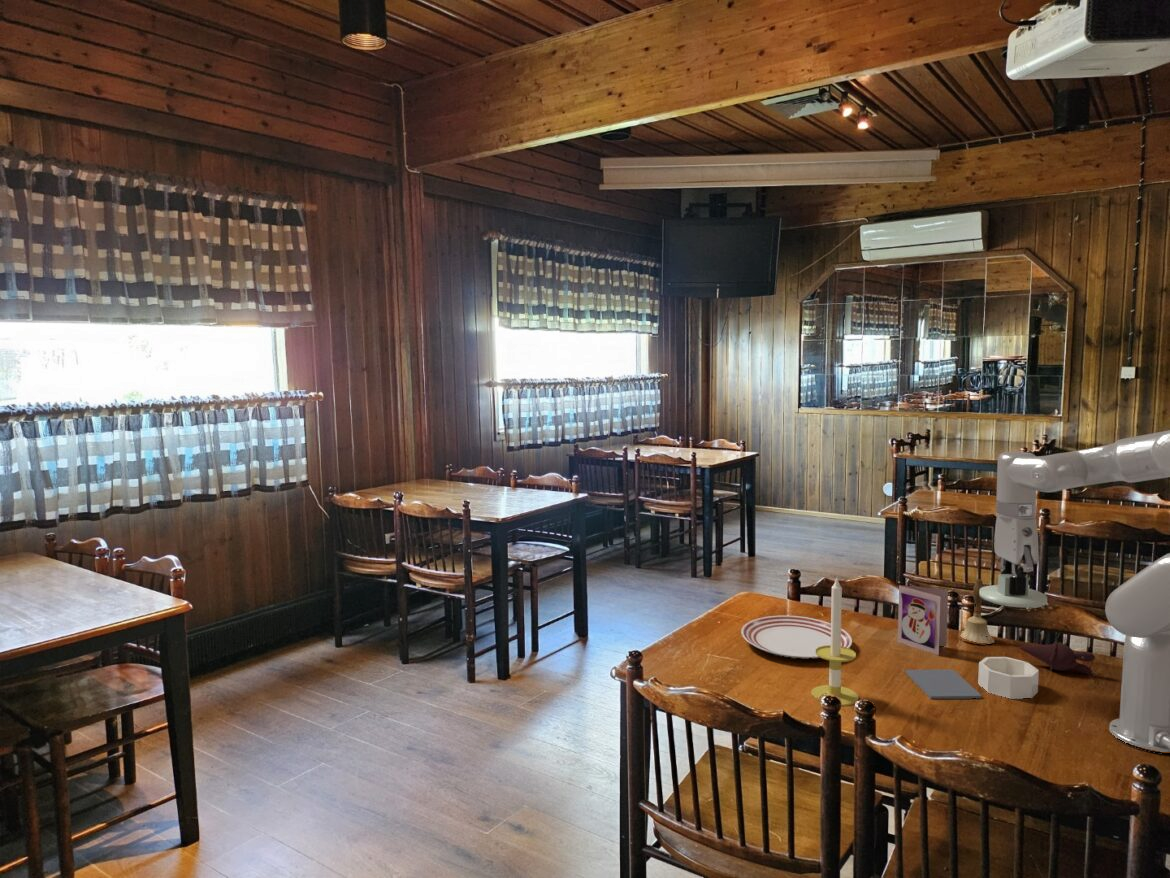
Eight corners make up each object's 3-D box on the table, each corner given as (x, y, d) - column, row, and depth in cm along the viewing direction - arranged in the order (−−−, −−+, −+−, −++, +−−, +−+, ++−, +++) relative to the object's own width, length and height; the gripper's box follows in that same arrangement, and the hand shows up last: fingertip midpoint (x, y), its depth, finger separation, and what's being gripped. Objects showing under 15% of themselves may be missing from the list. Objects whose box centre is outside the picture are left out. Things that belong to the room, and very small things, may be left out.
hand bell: (963, 631, 208) (965, 573, 206) (997, 638, 203) (1000, 578, 201) (954, 641, 202) (956, 580, 200) (990, 648, 197) (992, 586, 195)
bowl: (1045, 698, 168) (1047, 676, 168) (995, 699, 168) (996, 676, 168) (1019, 677, 179) (1019, 656, 178) (971, 678, 179) (972, 657, 179)
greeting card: (895, 642, 201) (896, 586, 200) (912, 636, 205) (914, 580, 204) (936, 656, 192) (938, 597, 190) (953, 649, 196) (956, 591, 194)
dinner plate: (875, 656, 194) (876, 643, 193) (783, 674, 184) (783, 661, 183) (805, 621, 219) (806, 609, 219) (721, 636, 209) (721, 624, 209)
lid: (1060, 607, 165) (1061, 583, 164) (997, 608, 165) (998, 584, 164) (1026, 588, 178) (1027, 567, 177) (968, 589, 178) (969, 568, 177)
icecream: (1019, 643, 183) (1095, 661, 175) (1022, 626, 189) (1096, 643, 181) (1015, 667, 185) (1090, 687, 177) (1019, 650, 191) (1092, 668, 183)
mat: (982, 698, 169) (982, 695, 169) (930, 698, 169) (930, 696, 169) (952, 671, 183) (952, 669, 183) (905, 672, 183) (905, 669, 183)
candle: (827, 709, 165) (830, 584, 162) (802, 689, 175) (803, 572, 172) (868, 702, 168) (871, 580, 165) (841, 683, 178) (843, 567, 175)
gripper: (1055, 516, 161) (1051, 603, 163) (1013, 501, 177) (1010, 581, 179) (1018, 517, 161) (1015, 604, 163) (979, 502, 177) (977, 581, 179)
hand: (1012, 591), depth 171 cm, fingers closed on lid, 3 cm apart
